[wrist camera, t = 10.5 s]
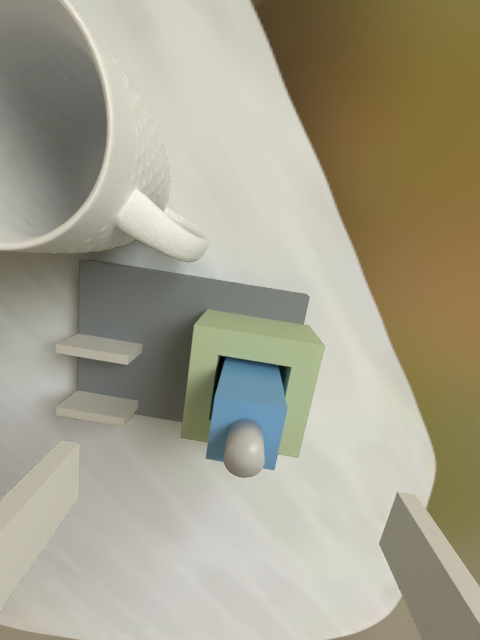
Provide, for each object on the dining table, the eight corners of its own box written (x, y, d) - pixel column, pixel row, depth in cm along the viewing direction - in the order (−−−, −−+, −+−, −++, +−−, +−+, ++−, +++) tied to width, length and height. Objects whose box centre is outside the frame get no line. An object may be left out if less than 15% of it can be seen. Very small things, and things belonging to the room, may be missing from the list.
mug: (252, 199, 23) (250, 132, 11) (183, 303, 26) (113, 349, 13) (101, 84, 22) (-110, -152, 9) (42, 205, 24) (-191, 150, 12)
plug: (224, 381, 26) (198, 487, 14) (230, 340, 25) (208, 417, 13) (266, 388, 26) (277, 500, 14) (274, 348, 25) (292, 431, 13)
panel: (86, 396, 28) (55, 422, 24) (89, 259, 25) (55, 260, 21) (277, 428, 28) (282, 460, 24) (306, 294, 25) (317, 302, 20)
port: (195, 400, 26) (180, 437, 21) (207, 309, 24) (194, 324, 19) (289, 416, 26) (298, 457, 21) (309, 325, 24) (325, 345, 19)
